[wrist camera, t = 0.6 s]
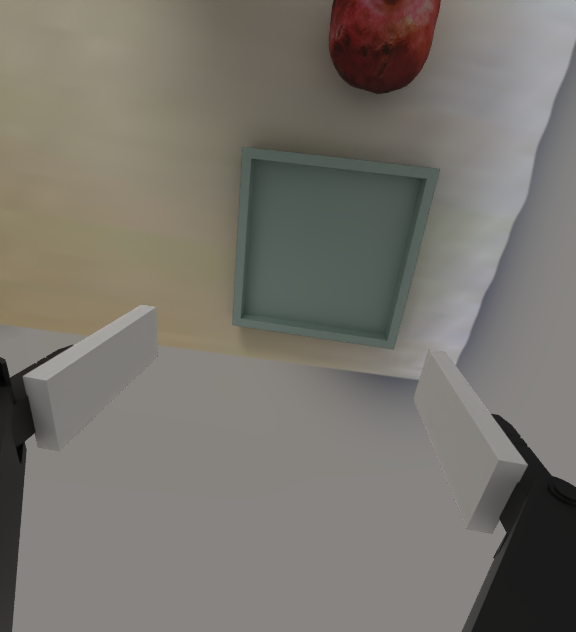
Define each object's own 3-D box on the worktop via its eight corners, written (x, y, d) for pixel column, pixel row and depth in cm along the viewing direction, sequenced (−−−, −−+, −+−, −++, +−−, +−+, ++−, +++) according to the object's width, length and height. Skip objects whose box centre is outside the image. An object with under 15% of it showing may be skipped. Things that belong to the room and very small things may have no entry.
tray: (248, 150, 36) (242, 146, 33) (432, 170, 34) (439, 168, 32) (237, 318, 43) (232, 324, 40) (390, 340, 41) (393, 349, 39)
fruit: (369, 126, 34) (385, 99, 24) (308, 48, 32) (300, -13, 23) (446, 50, 31) (497, -14, 22) (384, -40, 29) (410, -151, 20)
